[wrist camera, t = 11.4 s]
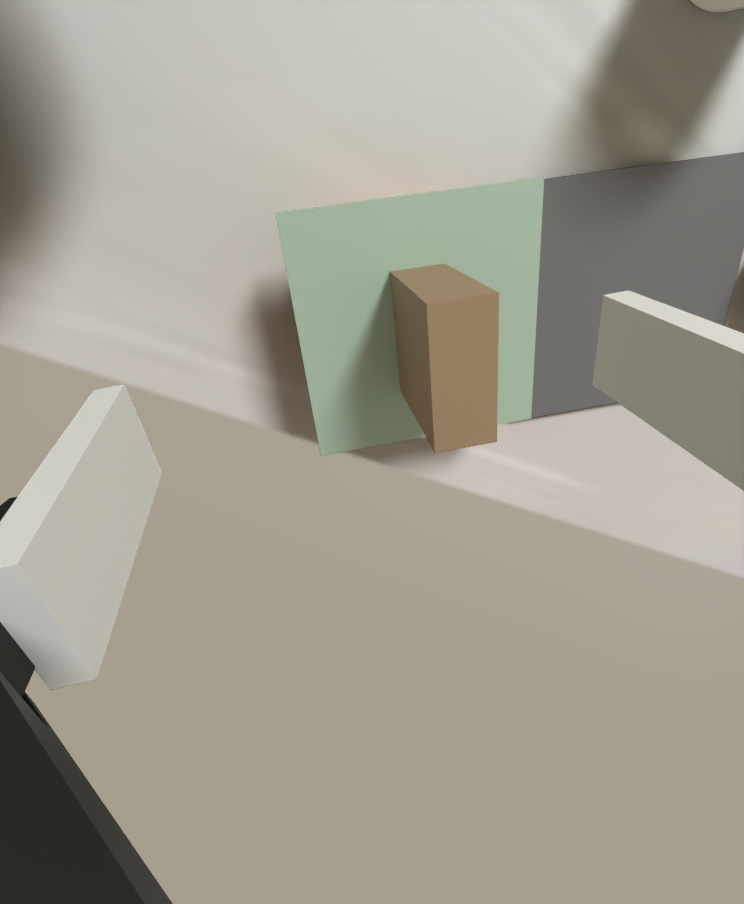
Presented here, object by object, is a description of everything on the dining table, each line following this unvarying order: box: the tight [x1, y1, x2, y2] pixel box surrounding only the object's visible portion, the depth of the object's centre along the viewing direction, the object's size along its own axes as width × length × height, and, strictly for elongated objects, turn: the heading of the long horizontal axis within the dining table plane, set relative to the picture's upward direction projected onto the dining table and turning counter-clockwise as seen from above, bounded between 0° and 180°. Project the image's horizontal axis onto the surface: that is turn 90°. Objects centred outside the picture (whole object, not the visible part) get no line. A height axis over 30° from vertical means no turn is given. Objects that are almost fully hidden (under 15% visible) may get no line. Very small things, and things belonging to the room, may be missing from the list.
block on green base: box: [276, 178, 544, 456], centre depth 30 cm, size 16×16×10 cm
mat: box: [531, 152, 744, 418], centre depth 41 cm, size 19×19×1 cm
